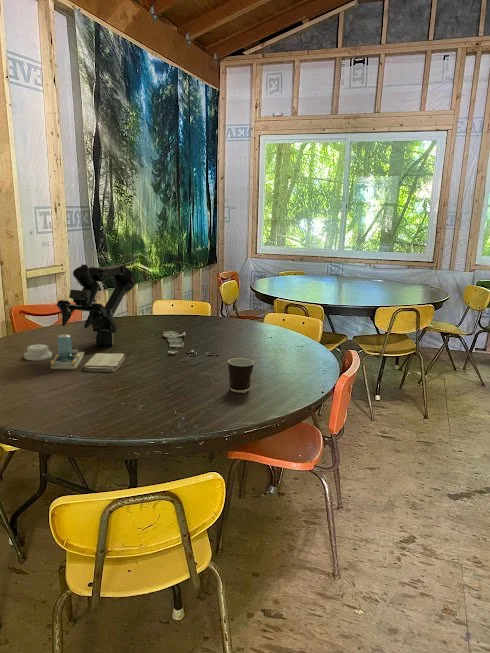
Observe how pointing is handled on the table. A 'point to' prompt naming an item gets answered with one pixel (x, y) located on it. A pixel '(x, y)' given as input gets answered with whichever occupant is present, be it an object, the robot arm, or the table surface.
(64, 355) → the cylinder
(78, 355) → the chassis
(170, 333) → the drone parts
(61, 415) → the table surface
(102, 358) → the washcloth
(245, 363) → the dark brown cup
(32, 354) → the mechanical component
